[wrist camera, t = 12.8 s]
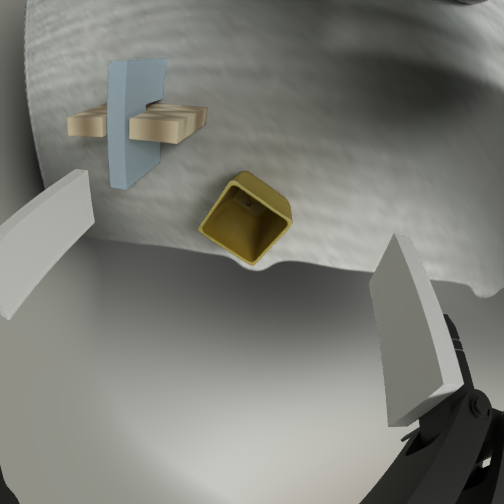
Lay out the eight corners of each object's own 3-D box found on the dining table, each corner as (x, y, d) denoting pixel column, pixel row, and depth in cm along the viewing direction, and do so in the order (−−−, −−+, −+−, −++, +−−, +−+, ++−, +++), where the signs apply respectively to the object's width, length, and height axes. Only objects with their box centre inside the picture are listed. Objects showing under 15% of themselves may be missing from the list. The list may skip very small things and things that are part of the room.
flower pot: (214, 199, 43) (195, 231, 36) (245, 155, 38) (231, 179, 31) (261, 231, 45) (252, 267, 38) (296, 191, 40) (294, 223, 33)
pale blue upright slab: (150, 58, 31) (109, 61, 23) (166, 58, 31) (127, 60, 23) (145, 160, 41) (110, 187, 33) (160, 162, 41) (126, 190, 33)
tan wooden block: (109, 117, 37) (68, 135, 29) (109, 102, 36) (67, 117, 28) (205, 124, 37) (177, 143, 29) (207, 107, 35) (178, 121, 27)
